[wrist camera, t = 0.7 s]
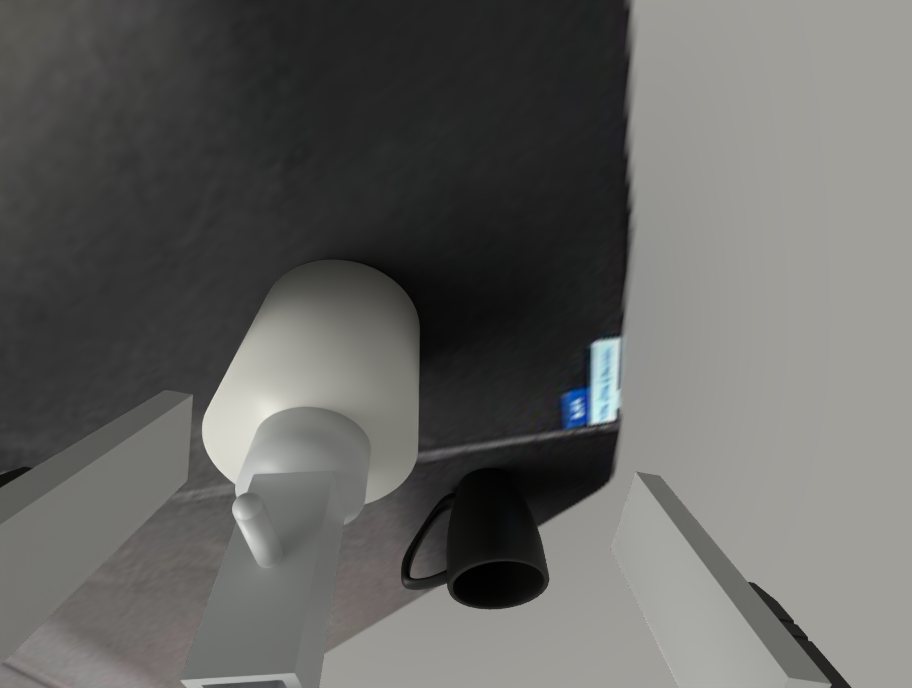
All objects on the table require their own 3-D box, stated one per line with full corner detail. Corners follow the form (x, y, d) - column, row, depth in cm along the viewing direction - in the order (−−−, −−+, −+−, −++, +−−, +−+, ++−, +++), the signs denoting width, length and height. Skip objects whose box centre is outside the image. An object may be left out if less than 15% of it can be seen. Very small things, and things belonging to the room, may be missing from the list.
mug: (398, 466, 43) (392, 568, 35) (530, 454, 43) (552, 554, 35) (409, 518, 48) (407, 618, 40) (527, 508, 48) (547, 605, 40)
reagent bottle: (243, 261, 30) (-11, 636, 13) (415, 256, 31) (402, 612, 13) (282, 389, 37) (150, 754, 19) (423, 384, 37) (421, 735, 20)
